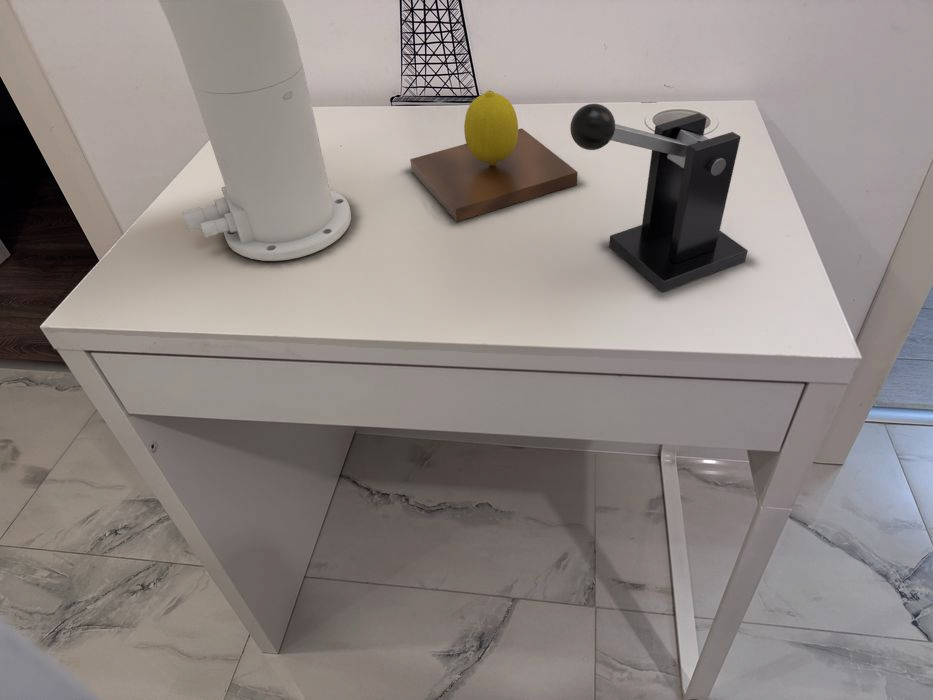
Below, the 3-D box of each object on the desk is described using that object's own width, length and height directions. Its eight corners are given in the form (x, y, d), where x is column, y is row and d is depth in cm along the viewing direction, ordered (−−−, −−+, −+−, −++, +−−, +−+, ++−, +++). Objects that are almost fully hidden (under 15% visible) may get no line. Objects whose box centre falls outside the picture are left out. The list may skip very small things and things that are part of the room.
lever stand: (662, 292, 59) (683, 166, 51) (608, 246, 64) (620, 125, 56) (745, 261, 61) (778, 136, 53) (687, 219, 67) (709, 99, 59)
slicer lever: (578, 153, 49) (597, 109, 47) (555, 135, 51) (573, 93, 49) (708, 181, 56) (728, 143, 55) (682, 164, 58) (701, 128, 57)
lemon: (519, 176, 71) (518, 101, 66) (466, 179, 72) (461, 104, 66) (517, 151, 75) (516, 78, 70) (467, 153, 76) (462, 81, 70)
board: (456, 222, 69) (455, 209, 68) (411, 171, 77) (409, 158, 76) (577, 184, 73) (577, 171, 71) (522, 140, 81) (521, 128, 80)
